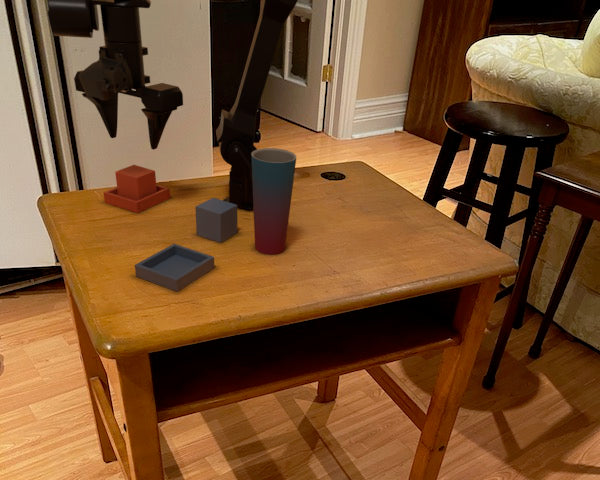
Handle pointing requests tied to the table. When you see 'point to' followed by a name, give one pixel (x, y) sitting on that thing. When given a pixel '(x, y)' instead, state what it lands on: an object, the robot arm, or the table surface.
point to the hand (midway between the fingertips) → (133, 143)
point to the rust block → (135, 182)
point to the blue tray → (174, 267)
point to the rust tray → (141, 204)
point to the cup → (272, 197)
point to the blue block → (216, 220)
